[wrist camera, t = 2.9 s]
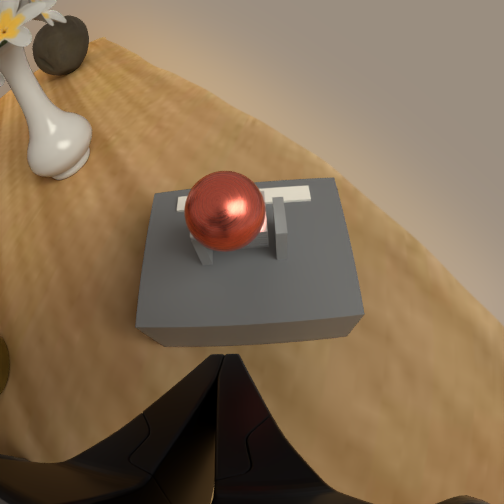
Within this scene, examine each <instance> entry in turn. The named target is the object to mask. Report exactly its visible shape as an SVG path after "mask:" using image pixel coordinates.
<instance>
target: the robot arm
mask: <svg viewBox="0 0 504 504" xmlns="http://www.w3.org/2000/svg"><path fill="white" fill-rule="evenodd" d="M213 487H214V496H213V500H212V503H211V504H373V503H369V502H366V501H363V500H360V499H357V498H354V497H351V496H349V495H346V494H343V493H340V492H338V491H336V490H334V489H333V488H331V487H330V486H329V485H328V484H326V483H325V482H324V481H323V480H322V479H321V478H320V477H319V476H318V475H317V474H316V472H315V471H314V470H313V469H312V468H311V467H310V466H309V465H308V464H307V463H306V461H305V460H304V459H303V458H302V457H301V456H300V455H299V454H298V452H297V451H296V450H295V449H294V448H293V447H292V445H291V444H290V443H289V441H288V440H287V439H286V438H285V436H284V435H283V433H282V432H281V430H280V428H279V427H278V425H277V424H276V422H275V420H274V418H273V417H272V415H271V413H270V411H269V410H268V408H267V406H266V404H265V402H264V401H263V399H262V397H261V395H260V393H259V391H258V389H257V388H256V386H255V384H254V382H253V380H252V378H251V376H250V375H249V373H248V371H247V369H246V367H245V365H244V363H243V361H242V359H241V357H240V355H239V354H226V355H225V356H224V355H223V354H212V355H210V356H209V357H208V358H206V359H205V360H204V361H203V362H202V363H201V364H199V365H198V366H197V367H196V368H195V369H194V370H192V371H191V372H190V373H189V374H188V375H187V376H185V377H184V378H183V379H182V380H181V381H180V382H178V383H177V384H176V385H175V386H174V387H172V388H171V389H170V390H169V391H168V392H166V393H165V394H164V395H163V396H162V397H160V398H159V399H158V400H157V401H155V402H154V403H153V404H152V405H151V406H149V407H148V408H147V409H146V410H144V411H143V413H141V414H139V415H138V416H137V417H136V418H134V419H133V420H132V421H130V422H129V423H128V424H126V425H125V426H124V427H122V428H121V429H120V430H118V431H117V432H115V433H113V434H112V435H110V436H109V437H107V438H106V439H104V440H102V441H101V442H99V443H97V444H96V445H94V446H92V447H91V448H89V449H87V450H86V451H84V452H82V453H80V454H79V455H77V456H75V457H73V458H71V459H69V460H67V461H64V462H59V463H36V462H25V461H16V460H8V459H1V458H0V504H210V502H211V497H212V492H213ZM437 504H489V503H488V502H485V501H483V500H480V499H477V498H474V497H471V496H467V495H465V496H457V497H453V498H450V499H447V500H444V501H442V502H439V503H437Z"/></svg>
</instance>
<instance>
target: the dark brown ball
mask: <svg viewBox="0 0 504 504" xmlns="http://www.w3.org/2000/svg"><path fill="white" fill-rule="evenodd" d="M64 17H65V19H66V20H67V21H66V23H61V22H56V21H53V22H54V26H51V25H49V24H46V25H45V26H43V27H42V28H41V29H40V31H39V32H38V33H37V35H36V37H35V39H34V43H33V56H34V59H35V62H36V64H37V66H38V67H39V68H40V69H41V70H42V71H44V72H45V73H47V74H50V75H58V76H59V75H64V74H68V73H71V72H73V71H74V70H75V69H77V68H78V67H79V65H80V64H81V63H82V61H83V60H84V58H85V56H86V53H87V50H88V44H89V36H88V31H87V28H86V25H85V24H84V23H83V21H81V20H80V19H78V18H77V17H74V16H64Z"/></svg>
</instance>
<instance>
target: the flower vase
mask: <svg viewBox="0 0 504 504" xmlns="http://www.w3.org/2000/svg"><path fill="white" fill-rule="evenodd" d="M56 1H57V0H1V1H0V72H1V73H2V74H1V73H0V87H1V86H2V85H3V84H4V82H5V79H6V81H7V82H8V84H9V86H10V87H11V89H12V91H13V93H14V95H15V97H16V99H17V101H18V103H19V105H20V107H21V109H22V111H23V113H24V115H25V118H26V121H27V124H28V129H29V144H28V149H27V160H28V164H29V166H30V168H31V170H32V171H33V173H35V174H36V175H39V176H42V177H52V178H53V179H56V180H62V179H66V178H68V177H70V176H72V175H73V174H75V173H76V172H77V171H78V170H79V169H81V168H82V166H83V165H84V164H85V163H86V161H87V160H88V157H89V155H90V149H89V145H90V143H91V139H92V127H91V125H90V123H89V121H88V120H87V119H86V118H84V117H83V116H81V115H79V114H77V113H72V112H66V111H63V110H61V109H59V108H58V107H57V106H55V105H54V104H53V103H52V102H51V101H50V100H49V98H48V97H47V96H46V94H45V93H44V91H43V89H42V88H41V86H40V84H39V83H38V81H37V79H36V77H35V76H34V74H33V72H32V70H31V68H30V66H29V63H28V61H27V58H26V55H25V51H24V46H27V45H29V44H30V42H31V40H32V36H31V33H30V31H29V30H28V29H27V28H26V27H24V26H23V27H21V26H22V25H24V24H25V23H27V22H28V21H30V20H39V21H43V22H46V23H47V24H49V25H51V26H54V22H53V21H56V22H61V23H66V21H67V20H66V19H65V17H64V16H63V15H62V14H60V13H59V12H57V11H55V10H49V11H47V10H48V9H50V8H51V7H53V6H54V5H55V3H56ZM45 11H46V12H45ZM4 77H5V78H4Z"/></svg>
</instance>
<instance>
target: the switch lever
mask: <svg viewBox="0 0 504 504" xmlns="http://www.w3.org/2000/svg"><path fill="white" fill-rule="evenodd" d="M184 215H185V221H186V224H187V227H188V229H189V231H190V238H192V239H194V240H196V241H198V242H199V243H200V244H201V245H203V246H205V247H206V248H209V249H211V250H214V251H220V252H230V251H235V250H239V249H246V248H259V247H269V241H268V228H267V216H266V205H265V194H264V191H260V190H259V188H258V187H257V186H256V184H255V183H254V182H253V181H251V180H250V179H249V178H247V177H246V176H244V175H242V174H240V173H237V172H232V171H218V172H214V173H211V174H208V175H206V176H205V177H203V178H201V179H200V180H199V181H198V182H197V183H196V184H195V185H194V186H193V187H192V189H191V190H190V192H189V194H188V196H187V199H186V202H185V209H184Z"/></svg>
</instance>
